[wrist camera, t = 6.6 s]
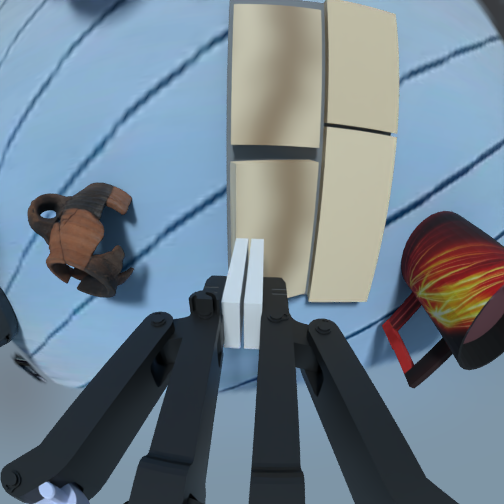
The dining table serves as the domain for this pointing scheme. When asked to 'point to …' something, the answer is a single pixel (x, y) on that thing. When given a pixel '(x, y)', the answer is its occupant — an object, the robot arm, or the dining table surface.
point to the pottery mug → (82, 237)
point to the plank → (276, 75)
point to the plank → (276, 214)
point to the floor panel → (343, 145)
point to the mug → (452, 294)
